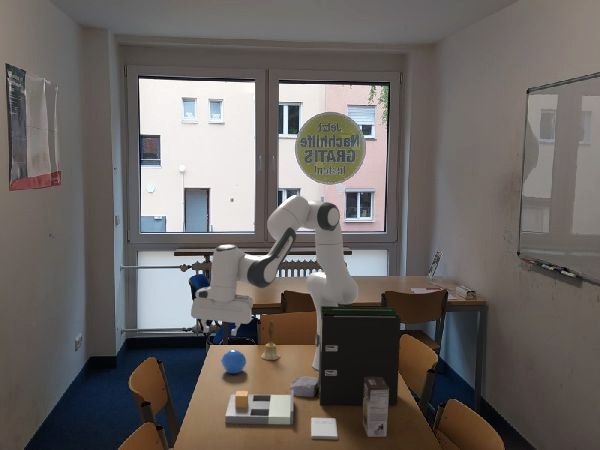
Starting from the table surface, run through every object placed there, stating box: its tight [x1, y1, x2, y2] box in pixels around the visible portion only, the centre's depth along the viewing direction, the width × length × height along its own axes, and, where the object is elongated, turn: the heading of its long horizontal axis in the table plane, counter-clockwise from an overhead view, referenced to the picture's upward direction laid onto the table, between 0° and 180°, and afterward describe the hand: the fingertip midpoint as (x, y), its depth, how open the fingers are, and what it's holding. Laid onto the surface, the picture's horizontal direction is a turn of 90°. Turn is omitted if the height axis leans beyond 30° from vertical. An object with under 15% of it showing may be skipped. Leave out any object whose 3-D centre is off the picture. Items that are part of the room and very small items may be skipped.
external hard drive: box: [310, 417, 338, 440], centre depth 180 cm, size 2×8×12 cm
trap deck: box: [224, 390, 294, 425], centre depth 191 cm, size 22×17×4 cm
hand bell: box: [260, 320, 281, 361], centre depth 243 cm, size 8×8×16 cm
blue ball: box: [220, 350, 247, 375], centre depth 226 cm, size 10×12×10 cm
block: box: [235, 390, 249, 408], centre depth 191 cm, size 4×4×4 cm
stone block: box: [289, 375, 319, 398], centre depth 211 cm, size 12×5×10 cm
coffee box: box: [362, 377, 389, 438], centre depth 179 cm, size 9×6×16 cm
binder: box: [318, 306, 402, 407], centre depth 202 cm, size 27×15×32 cm, turn 90°
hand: (219, 333), depth 190 cm, fingers open, 8 cm apart
